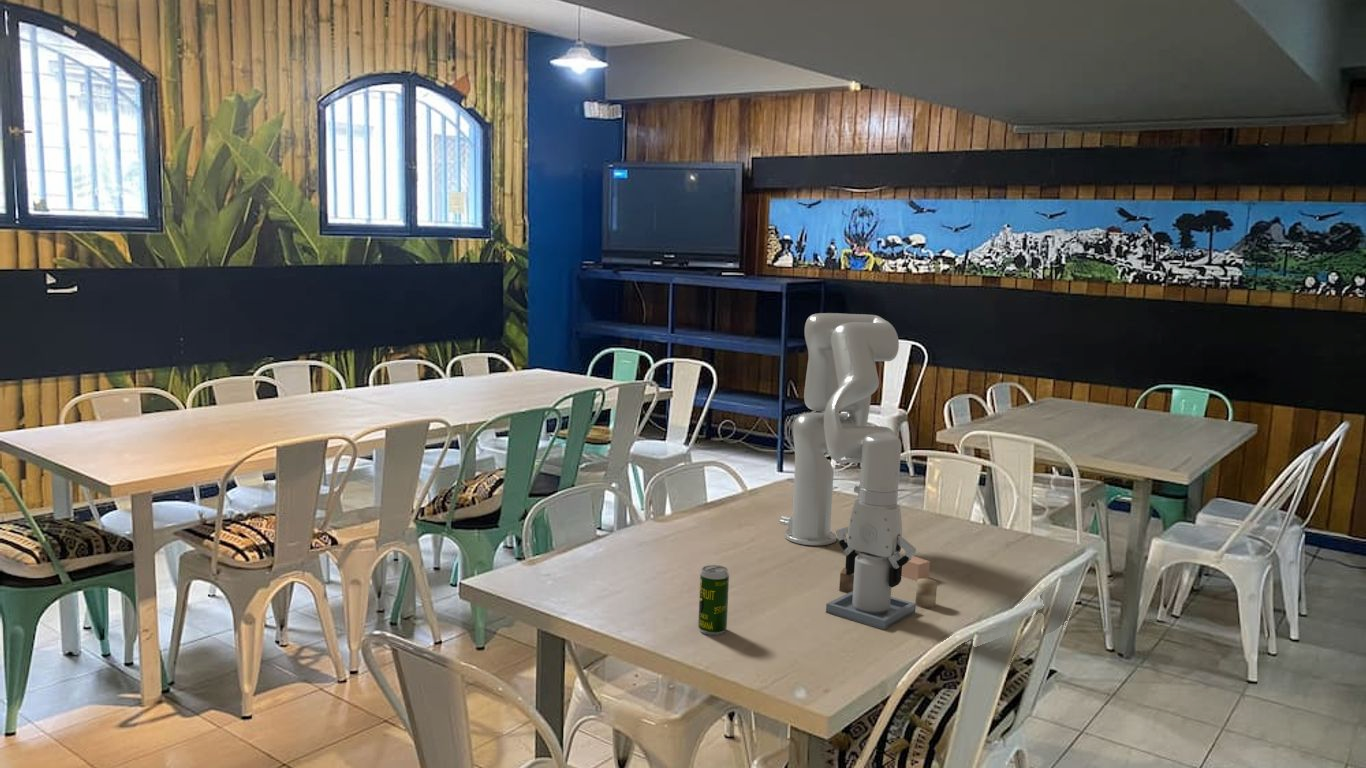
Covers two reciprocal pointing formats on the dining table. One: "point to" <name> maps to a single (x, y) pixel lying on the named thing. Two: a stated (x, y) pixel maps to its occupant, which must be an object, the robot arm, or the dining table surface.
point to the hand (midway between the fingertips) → (872, 579)
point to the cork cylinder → (926, 593)
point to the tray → (882, 621)
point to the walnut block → (846, 581)
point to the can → (871, 584)
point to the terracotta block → (916, 569)
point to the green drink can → (713, 600)
